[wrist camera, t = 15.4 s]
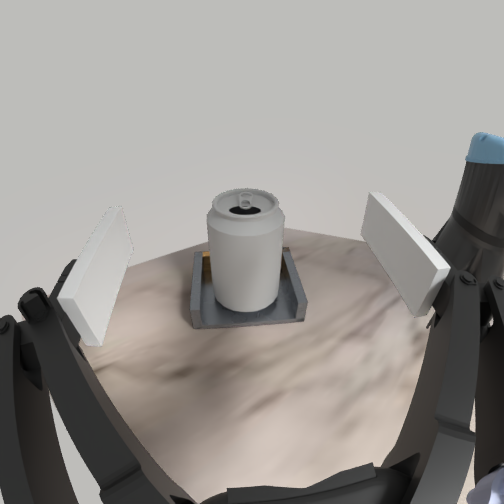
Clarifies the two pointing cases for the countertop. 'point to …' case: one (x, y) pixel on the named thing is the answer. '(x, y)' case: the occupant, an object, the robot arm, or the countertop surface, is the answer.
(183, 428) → the countertop surface
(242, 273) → the can
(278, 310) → the open rectangular tray
